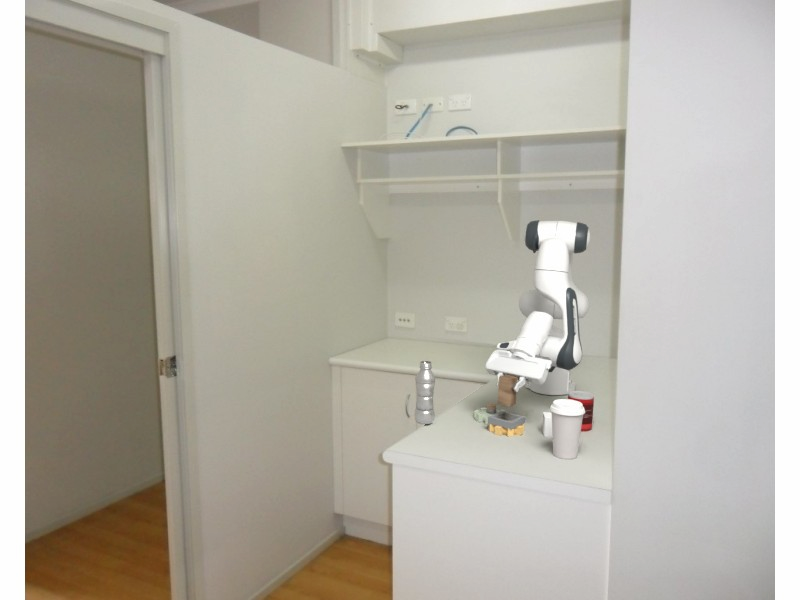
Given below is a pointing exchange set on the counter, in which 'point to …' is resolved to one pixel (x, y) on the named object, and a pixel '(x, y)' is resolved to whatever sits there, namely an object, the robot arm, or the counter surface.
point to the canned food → (588, 404)
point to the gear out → (506, 424)
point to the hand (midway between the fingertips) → (506, 388)
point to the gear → (486, 413)
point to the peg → (507, 390)
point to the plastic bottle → (425, 394)
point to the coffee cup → (566, 427)
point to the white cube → (547, 424)
